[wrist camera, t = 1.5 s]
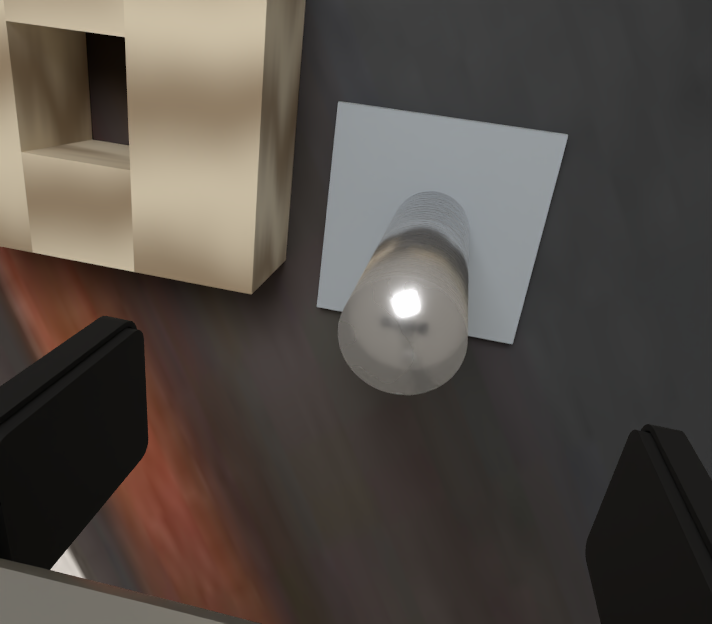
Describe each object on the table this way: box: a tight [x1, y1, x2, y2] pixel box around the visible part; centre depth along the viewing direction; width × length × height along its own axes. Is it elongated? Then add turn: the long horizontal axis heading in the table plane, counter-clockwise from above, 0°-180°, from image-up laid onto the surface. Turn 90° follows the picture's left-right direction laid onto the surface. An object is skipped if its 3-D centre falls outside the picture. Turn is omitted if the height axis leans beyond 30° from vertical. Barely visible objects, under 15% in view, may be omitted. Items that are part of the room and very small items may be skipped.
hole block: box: [0, 0, 306, 294], centre depth 25 cm, size 14×16×5 cm
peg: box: [338, 191, 469, 395], centre depth 21 cm, size 4×4×12 cm
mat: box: [317, 101, 568, 344], centre depth 27 cm, size 10×10×1 cm
